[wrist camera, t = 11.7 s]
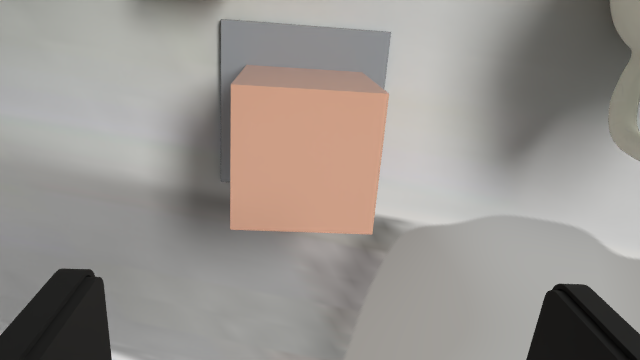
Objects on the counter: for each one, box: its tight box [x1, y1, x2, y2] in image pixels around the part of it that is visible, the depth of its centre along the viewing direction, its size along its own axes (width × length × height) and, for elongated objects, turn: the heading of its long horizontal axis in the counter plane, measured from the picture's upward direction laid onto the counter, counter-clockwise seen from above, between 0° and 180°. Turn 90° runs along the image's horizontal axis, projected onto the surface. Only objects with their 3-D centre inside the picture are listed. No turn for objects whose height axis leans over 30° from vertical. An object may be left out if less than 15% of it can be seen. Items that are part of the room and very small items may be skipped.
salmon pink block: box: [230, 65, 389, 234], centre depth 25 cm, size 7×7×8 cm
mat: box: [221, 19, 391, 182], centre depth 29 cm, size 10×10×1 cm
